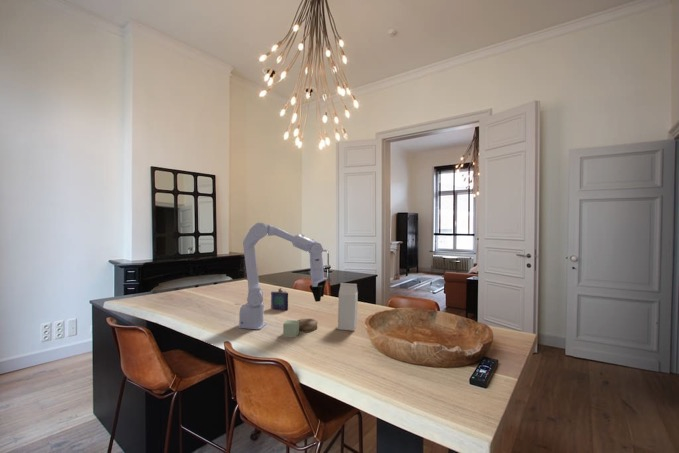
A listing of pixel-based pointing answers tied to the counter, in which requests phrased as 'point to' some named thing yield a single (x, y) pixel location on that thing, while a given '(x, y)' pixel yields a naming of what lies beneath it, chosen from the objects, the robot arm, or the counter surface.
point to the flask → (279, 300)
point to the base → (307, 324)
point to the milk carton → (347, 306)
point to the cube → (291, 328)
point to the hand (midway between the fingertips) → (319, 298)
